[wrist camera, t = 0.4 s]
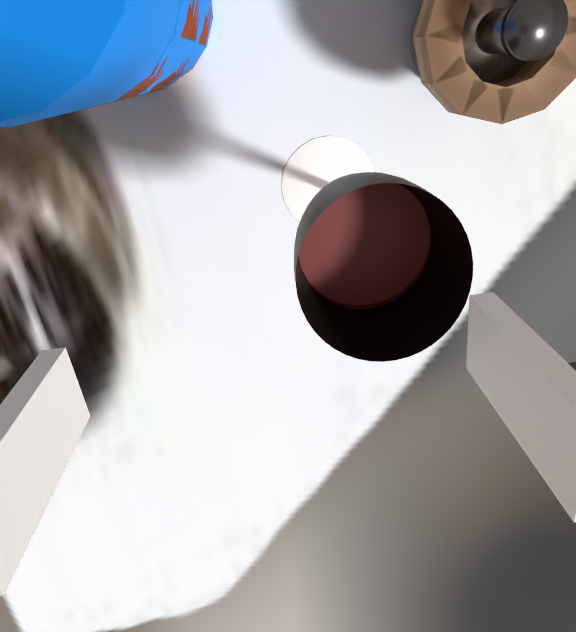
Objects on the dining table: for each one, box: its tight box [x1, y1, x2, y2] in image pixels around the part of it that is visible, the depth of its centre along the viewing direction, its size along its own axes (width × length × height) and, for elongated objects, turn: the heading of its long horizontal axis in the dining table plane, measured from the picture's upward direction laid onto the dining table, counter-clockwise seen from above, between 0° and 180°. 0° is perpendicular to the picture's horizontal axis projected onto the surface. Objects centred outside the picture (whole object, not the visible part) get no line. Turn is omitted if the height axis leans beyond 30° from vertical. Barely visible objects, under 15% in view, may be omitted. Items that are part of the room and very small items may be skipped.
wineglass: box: [281, 136, 473, 362], centre depth 32 cm, size 8×9×20 cm
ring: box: [413, 0, 576, 124], centre depth 30 cm, size 10×10×2 cm
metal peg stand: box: [412, 0, 568, 84], centre depth 31 cm, size 7×7×11 cm
